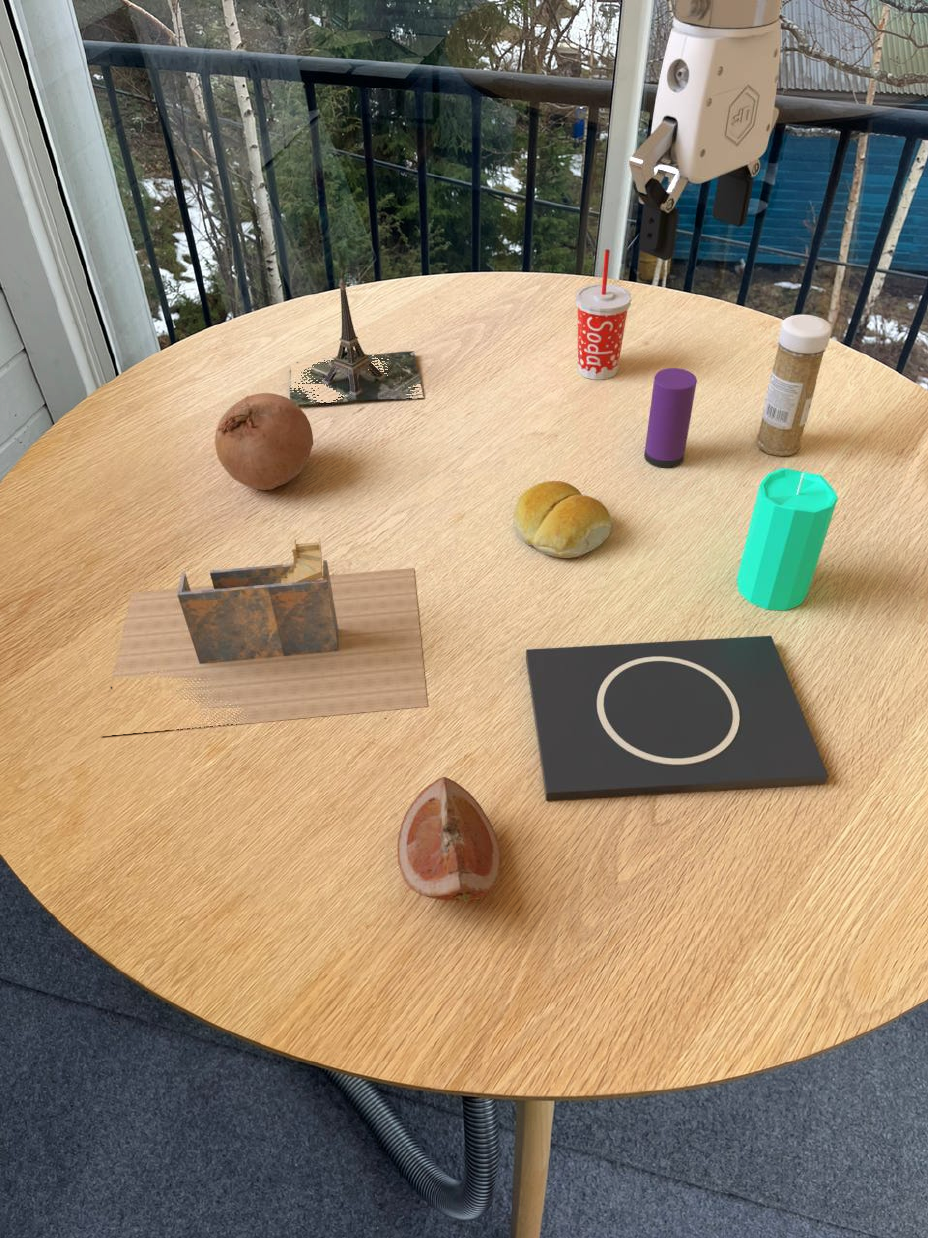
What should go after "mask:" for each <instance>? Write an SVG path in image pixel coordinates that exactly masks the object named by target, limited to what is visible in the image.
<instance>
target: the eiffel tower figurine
mask: <svg viewBox="0 0 928 1238" xmlns="http://www.w3.org/2000/svg"><path fill="white" fill-rule="evenodd" d="M340 277H341V279H340V280H339V281H338V286H339V289H340V291H339V292H340V306H341V307H340V308H341V310H340V311H341V336H340V338H339V341H340V343H339V347H338V352H337V355H336V356H334V357H332V358H333V359H334V360H331V361H330V360H327V361H326V362H327V363H326V362H318V363H320V364H318V363H317V364H313V365H312V367H308V369H309V368H311V370H307V369H305V370H307V372H309V371H310V373H307V372H303V374H306V373H307V375H304V377H305V378H306V379H303V378H304V377H302V379H303V380H304V381H305V380H307V379H308V378H307V377H306V376H308V377H309V378H311V379H309V380H308V381H310V380H313V381H312V382H310V383H307V382H306V384H311V383H312V384H324V385H325V384H326V386H327V387H328V386H329V388H333V390H336V392H340V394H342V395H344V396H345V395H346V396H345V397H343V396H341V397H342V398H343V399H340V400H338V399H336V400H337V402H334V403H332V402H331V403H332V404H338V403H347V402H354V403H357V402H358V401H368V400H369V401H370V400H371V401H372V400H407V399H406V398H410V396H412V397H413V396H418V395H423V394H416V395H406V394H412V393H414V392H416V393H417V392H419V390H416V391H410V390H415V388H421V387H413V385H414V386H416V385H417V384H422V378H421V374H420V371H419V366H418V362H417V359H416V353H415V351H414V350H409V351H397V352H396V351H395V352H387V353H375V354H367V353H365V352H364V351H363V348H362V346H361V344H360V343H359V336H357V334H356V332H355V328H354V324H353V319H352V314H351V311H350V305H349V300H348V294H347V287H346V286H347V282H346V281H345V280H344V279H343V274H342V273H340ZM372 355H374V356H372ZM375 357H376V358H378V359H379V360H380V362H381V363H382V364H384V363H386V364H387V365H386V364H384V365H382V364H380V365H382V366H383V369H384V372H380V371H383V370H380V369H379V368H382V367H378V369H379V370H378V369H377V368H376V367H375V366H379V365H378V364H377V365H375V366H374V365H373V364H372V363H374V364H375V363H378V361H377V362H372V361H375V360H378V359H372V358H375ZM381 358H383V359H381ZM387 359H389V360H387ZM324 361H325V360H324ZM328 361H329V362H328ZM382 361H385V362H382ZM371 362H372V363H371ZM313 366H314V367H313ZM385 366H387V367H388V368H387V367H385ZM368 369H369V370H368ZM385 369H388V370H385ZM305 370H304V371H305ZM301 373H302V372H301ZM384 373H387V374H384ZM309 374H311V375H309ZM387 375H388V376H387ZM301 376H302V375H301ZM312 376H313V377H312ZM314 378H315V379H314ZM300 380H301V379H300ZM316 380H318V381H316ZM322 380H323V381H322ZM301 382H303V381H301ZM313 382H315V383H313ZM319 382H321V383H319ZM295 383H296V382H295ZM298 384H300V383H298ZM302 384H305V383H302ZM422 385H423V384H422ZM298 387H299V386H298ZM315 387H316V386H315ZM408 387H411V388H408ZM302 388H303V387H302ZM290 389H292V388H290V387H289V399H290V400H291V401H293V402H294V403H295V404H296V405H313V404H312V403H314V402H315V403H317V404H316V405H319V404H318V403H320V402H316V401H317V400H313V399H308V398H310V397H311V396H309V397H306V396H307V395H309V394H305V393H306V392H308V391H305V392H302V390H300V389H301V388H298V390H295V389H296V388H294V390H290ZM311 389H313V388H311ZM318 389H319V388H318ZM304 390H305V389H303V391H304ZM292 391H294V392H292ZM297 391H299V392H297ZM313 391H315V390H313ZM299 393H301V394H299ZM309 393H312V392H309ZM340 394H339V395H340ZM313 395H315V394H313ZM313 395H312V396H313ZM317 396H319V395H317ZM341 397H338V398H341ZM313 398H316V397H313ZM336 400H333V401H336ZM411 400H418V399H417V398H412V399H411ZM310 401H312V402H310ZM321 401H323V400H321ZM324 403H326V402H324Z"/></svg>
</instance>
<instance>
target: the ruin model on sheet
mask: <svg viewBox="0 0 928 1238" xmlns="http://www.w3.org/2000/svg"><path fill="white" fill-rule="evenodd" d="M291 551H292V557H293V562H292V563H283V564H272V565H271V564H270V565H260V566H249V567H236V568H225V569H209V576H210V579H211V582H212V583H211V584H212V585H203V586H190V583H189V581H188V577H187V574H186V572H185V571H183V572H180V576H179V577H180V578H179V583H178V588H169V589H157V590H144V591H135V592H131V596H130V600H129V605H128V608H127V613H126V619H125V623H124V627H123V631H122V632H123V633H122V636H121V641H120V646H119V650H120V652H119V651H118V654H117V659H116V664H115V668H114V673H113V678H115V677H116V679H117V678H118V677H119V678H121V677H122V678H124V677H123V675H124V676H125V678H127V676H128V677H129V678H131V677H132V678H135V677H136V679H137V678H138V677H139V678H141V677H140V675H141V676H142V678H144V676H145V677H146V678H148V676H149V673H150V674H151V676H152V677H153V674H154V675H155V676H156V677H157V674H158V675H159V672H160V673H161V675H162V676H163V677H164V678H166V676H167V677H168V678H170V677H171V678H172V679H173V678H176V679H177V678H178V677H179V678H182V677H183V678H184V679H185V678H188V680H189V681H190V682H191V683H192V680H193V681H194V682H195V683H196V684H197V685H195V683H192V684H193V685H194V686H195V687H193V685H190V683H188V680H185V681H186V682H187V683H188V684H189V685H190V686H191V687H192V688H193V689H191V687H188V685H186V683H184V684H185V685H186V686H187V687H188V688H189V689H190V690H192V691H193V692H194V693H195V694H196V695H197V697H195V694H192V691H189V689H187V688H186V687H184V685H182V686H183V687H184V688H185V689H186V690H188V691H189V692H190V693H191V694H192V695H193V696H194V697H195V698H196V699H198V697H199V698H201V699H202V700H203V701H201V699H198V700H199V701H200V702H201V704H200V705H201V706H202V707H200V706H198V707H199V708H200V709H201V708H205V709H206V708H207V707H208V708H209V709H210V708H213V709H215V708H218V709H219V710H220V707H221V708H225V707H226V708H227V709H228V708H232V709H233V710H234V708H237V709H238V708H241V709H238V710H240V711H241V713H240V711H236V710H235V711H236V712H238V713H240V714H237V713H235V712H233V713H235V714H236V715H238V716H237V717H236V715H233V713H230V712H229V711H227V712H228V713H230V714H231V715H233V716H235V717H236V718H234V717H231V715H228V714H227V713H226V712H224V710H225V711H226V709H224V710H221V711H222V712H224V713H225V714H227V715H228V716H230V717H231V718H233V719H235V720H236V721H238V722H240V723H238V722H236V721H235V720H232V719H230V720H232V721H233V722H235V723H237V725H246V724H256V723H267V722H277V721H287V720H288V721H289V720H298V719H307V718H308V719H309V718H318V717H319V718H320V717H330V716H341V715H348V714H350V715H351V714H361V713H372V712H382V711H383V712H384V711H391V710H392V711H393V710H404V709H412V708H413V709H414V708H415V709H416V708H422V707H423V708H425V707H428V697H427V696H428V695H427V687H426V678H425V677H426V676H425V668H424V658H423V647H422V646H423V645H422V637H421V628H420V627H421V626H420V617H419V607H418V599H417V598H418V597H417V588H416V578H415V569H414V567H410V568H399V569H398V568H397V569H389V570H388V569H386V570H375V571H365V572H364V571H363V572H354V573H353V572H352V573H341V574H330V569H329V564H328V559H323V557H322V555H323V554H322V544H321V537H320V536H318V541H317V542H305V543H297V539H296V538H294V548H291ZM125 649H126V650H125ZM128 649H129V650H128ZM138 649H139V650H138ZM148 649H149V651H148ZM132 650H133V651H132ZM142 650H143V651H142ZM145 650H146V651H145ZM152 650H153V651H152ZM150 653H151V654H150ZM121 654H122V655H121ZM128 655H129V656H128ZM148 655H149V657H148ZM152 656H153V657H152ZM121 666H122V668H121ZM155 666H156V667H155ZM128 667H129V669H128ZM138 667H139V668H138ZM159 667H160V668H161V669H159ZM119 668H120V670H119ZM125 668H126V669H125ZM132 668H133V669H132ZM142 668H143V669H142ZM149 668H150V669H151V670H149ZM163 668H164V669H163ZM167 668H168V669H167ZM136 669H137V670H136ZM153 669H154V670H153ZM157 669H158V671H157ZM123 670H124V671H123ZM130 670H131V672H130ZM140 670H141V671H140ZM161 670H162V671H163V672H164V673H163V672H161ZM165 670H166V672H165ZM127 671H128V672H127ZM134 671H135V672H134ZM151 671H152V672H153V673H151ZM155 671H156V673H157V674H155ZM177 671H178V672H177ZM118 672H119V673H118ZM121 672H122V673H123V674H122V673H121ZM138 672H139V673H138ZM125 673H126V674H125ZM132 673H133V675H132ZM142 673H143V674H142ZM119 674H120V675H121V676H119ZM129 674H130V675H129ZM136 674H137V675H138V676H136ZM146 674H147V675H146ZM164 674H165V675H166V676H164ZM168 674H169V675H168ZM172 674H173V675H172ZM161 675H159V677H160V678H162V676H161ZM184 675H185V676H184ZM151 676H149V678H151ZM113 678H112V679H113ZM153 678H155V677H153ZM157 678H158V677H157ZM190 678H192V680H190ZM194 678H196V679H197V680H194ZM199 678H200V679H201V680H199ZM204 679H205V680H204ZM208 679H209V680H208ZM170 681H171V680H170ZM174 681H175V680H174ZM178 681H179V680H178ZM182 681H183V680H182ZM197 681H198V682H200V683H201V684H202V685H200V683H197ZM202 681H203V682H204V683H202ZM207 682H208V683H207ZM211 682H212V683H211ZM205 684H206V685H205ZM209 684H210V685H209ZM236 684H237V685H236ZM214 685H215V686H214ZM219 685H220V686H219ZM175 686H176V685H175ZM198 686H200V687H198ZM203 686H204V687H203ZM207 686H208V687H207ZM212 687H213V688H212ZM217 687H218V688H217ZM173 688H174V687H173ZM180 688H181V689H182V687H180ZM196 688H198V689H196ZM201 688H202V689H201ZM178 689H179V688H178ZM194 689H195V690H196V691H194ZM215 689H216V690H215ZM171 690H172V689H171ZM175 690H176V689H175ZM179 690H180V689H179ZM183 690H184V689H183ZM199 690H200V691H199ZM207 690H208V691H209V692H208V691H207ZM225 690H226V691H225ZM176 691H177V690H176ZM184 691H185V690H184ZM204 691H205V692H204ZM213 691H214V692H213ZM231 691H232V692H231ZM173 692H174V691H173ZM177 692H178V691H177ZM181 692H182V693H183V691H181ZM185 692H186V693H187V691H185ZM197 692H198V693H199V694H197ZM210 692H211V693H212V694H211V693H210ZM174 693H175V692H174ZM190 693H187V694H188V695H189V696H190ZM202 693H203V694H202ZM171 694H172V695H173V693H171ZM175 694H176V695H177V693H175ZM179 694H180V695H181V693H179ZM183 694H184V695H185V693H183ZM208 694H209V695H210V696H209V695H208ZM221 694H222V695H221ZM200 695H201V696H200ZM185 696H186V695H185ZM193 696H190V697H191V698H192V699H193ZM174 697H175V696H174ZM178 697H179V696H178ZM182 697H183V696H182ZM186 697H187V698H188V696H186ZM203 697H204V698H205V699H203ZM207 697H208V698H209V699H207ZM183 698H184V697H183ZM191 698H188V699H189V700H191ZM212 698H213V699H212ZM217 698H218V699H217ZM180 699H181V700H182V698H180ZM184 699H185V700H186V698H184ZM196 699H193V700H195V701H196ZM206 700H207V701H206ZM210 700H212V701H210ZM215 700H216V701H215ZM220 700H221V701H222V702H220ZM199 701H196V702H197V703H198V704H199ZM208 701H209V702H210V703H208ZM188 702H189V701H188ZM192 702H193V701H192ZM204 702H206V703H204ZM213 702H214V703H213ZM218 702H219V703H220V704H218ZM226 702H228V703H226ZM232 702H233V703H232ZM236 702H237V703H236ZM193 703H194V702H193ZM202 703H203V704H204V705H202ZM224 703H225V704H226V705H225V704H224ZM186 704H187V703H186ZM190 704H191V703H190ZM207 704H208V705H207ZM211 704H212V705H211ZM216 704H217V705H216ZM229 704H231V705H229ZM191 705H192V704H191ZM195 705H197V704H195ZM222 705H223V706H222ZM188 706H190V705H188ZM205 706H206V707H205ZM209 706H211V707H209ZM214 706H215V707H214ZM219 706H220V707H219ZM227 706H229V707H227ZM233 706H234V707H233ZM237 706H238V707H237ZM194 707H195V706H194ZM187 708H188V707H187ZM191 708H192V707H191ZM256 708H257V709H256ZM213 709H210V710H212V711H213ZM242 709H243V710H242ZM203 711H204V710H203ZM207 711H208V709H207ZM207 711H204V712H206V713H207ZM216 711H218V710H216ZM216 711H213V712H215V713H216ZM230 711H232V710H230ZM245 711H246V712H245ZM209 712H210V713H211V711H209ZM201 713H202V711H201ZM219 713H221V712H219ZM219 713H216V714H218V715H219ZM243 713H245V714H243ZM249 713H250V714H249ZM194 714H195V713H194ZM199 714H200V713H199ZM203 714H204V715H206V716H207V714H209V713H207V714H205V713H203ZM212 714H213V715H214V713H212ZM221 714H222V713H221ZM225 714H222V715H224V716H225ZM187 715H188V714H187ZM241 715H243V716H241ZM247 715H248V716H247ZM197 716H198V715H197ZM201 716H203V715H202V714H201ZM210 716H211V717H212V715H210ZM215 716H216V717H217V715H215ZM219 716H220V715H219ZM239 716H240V717H241V718H239ZM244 716H245V717H246V718H245V717H244ZM190 717H191V716H190ZM221 717H222V718H223V716H221ZM225 717H226V716H225ZM200 718H201V717H200ZM204 718H206V717H204ZM209 718H210V717H209ZM213 718H214V719H215V717H213ZM217 718H218V717H217ZM227 718H228V719H229V717H227ZM237 718H238V719H240V720H241V721H243V722H241V721H240V720H237ZM242 718H243V719H245V720H243V719H242ZM219 719H221V718H219ZM224 719H225V720H227V719H226V718H224ZM198 720H199V719H198ZM203 720H204V719H203ZM207 720H208V719H207ZM211 720H213V719H211ZM216 720H217V719H216ZM230 720H227V721H228V722H230ZM213 721H214V720H213ZM217 721H219V720H217ZM222 721H224V720H222ZM201 722H202V721H201ZM206 722H207V721H206ZM210 722H211V721H210ZM214 722H216V721H214ZM224 722H225V721H224ZM228 722H225V723H227V724H229V725H228V726H235V725H236V724H235V723H233V722H230V723H228ZM244 722H245V723H244ZM194 723H195V722H194ZM211 723H212V722H211ZM216 723H217V722H216ZM221 723H222V722H221ZM225 723H222V724H224V725H225V726H227V725H226V724H225ZM231 723H232V724H233V725H231ZM187 724H188V723H187ZM191 724H192V723H191ZM204 724H205V723H204ZM213 724H215V723H213ZM218 724H219V725H220V723H218ZM197 725H198V724H197ZM201 725H203V724H201ZM201 725H198V726H200V727H201ZM206 725H207V724H206ZM206 725H203V726H204V727H205V728H207V727H206ZM210 725H212V724H210ZM215 725H216V724H215ZM190 726H191V725H190ZM194 726H196V725H194ZM207 726H208V725H207ZM212 726H213V725H212ZM225 726H223V725H221V726H220V727H225ZM175 727H176V726H175ZM183 727H184V726H183ZM187 727H189V726H187ZM191 727H193V726H191ZM204 727H201V728H199V727H197V728H194V727H193V728H194V729H195V730H196V729H203V728H204ZM216 727H219V726H218V725H216V726H213V727H212V728H216ZM176 728H177V727H176ZM208 728H211V727H210V726H209V727H208ZM171 730H172V729H171ZM184 730H188V729H187V728H186V729H183V730H182V731H184ZM189 730H193V729H192V728H190V729H189ZM174 731H177V730H176V729H175V730H174ZM178 731H181V730H180V729H179V730H178Z"/></svg>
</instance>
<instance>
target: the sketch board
mask: <svg viewBox="0 0 928 1238" xmlns="http://www.w3.org/2000/svg"><path fill="white" fill-rule="evenodd" d="M525 662H526V671H527V676H528V681H529V682H528V683H529V691H530V698H531V704H532V711H533V712H532V713H533V719H534V725H535V733H536V741H537V746H538V753H539V760H540V761H539V762H540V767H541V768H540V769H541V776H542V781H543V789H544V796H545V801H546V802H553V801H568V800H570V801H571V800H585V799H601V798H617V797H618V798H619V797H633V796H650V795H651V796H652V795H666V794H668V795H669V794H682V793H683V794H685V793H700V792H701V793H702V792H717V791H719V792H720V791H731V790H733V791H734V790H750V789H751V790H752V789H767V788H783V787H799V786H800V787H801V786H815V785H816V786H818V785H826V784H827V781H828V779H829V776H830V775H829V773H828V770H827V768H826V766H825V763H824V761H823V758H822V756H821V753H820V750H819V748H818V746H817V743H816V742H815V739H814V736H813V734H812V732H811V729H810V726H809V724H808V722H807V719H806V717H805V714H804V712H803V709H802V707H801V705H800V702H799V700H798V697H797V695H796V692H795V690H794V687H793V685H792V682H791V681H790V678H789V675H788V672H787V671H786V668H785V665H784V662H783V660H782V658H781V656H780V653H779V651H778V649H777V646H776V644H775V641H774V638H773V636H772V635H760V636H758V635H757V636H743V637H742V636H741V637H740V636H739V637H722V638H707V639H689V640H688V639H687V640H671V641H655V642H651V641H650V642H635V643H619V644H602V645H601V644H599V645H598V644H597V645H583V646H565V647H547V648H530V649H525Z"/></svg>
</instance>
